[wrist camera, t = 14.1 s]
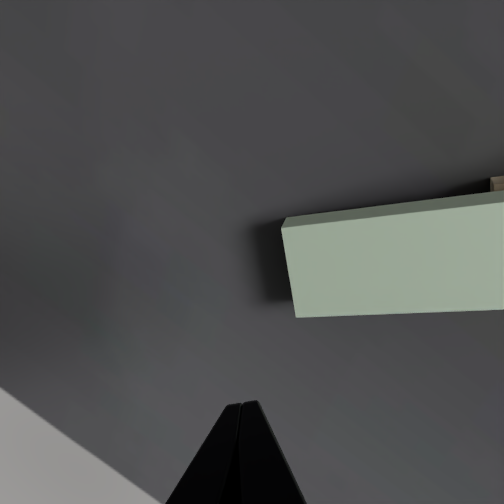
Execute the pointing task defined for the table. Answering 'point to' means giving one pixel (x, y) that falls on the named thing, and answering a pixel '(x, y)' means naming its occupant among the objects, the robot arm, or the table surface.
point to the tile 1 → (496, 183)
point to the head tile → (399, 257)
